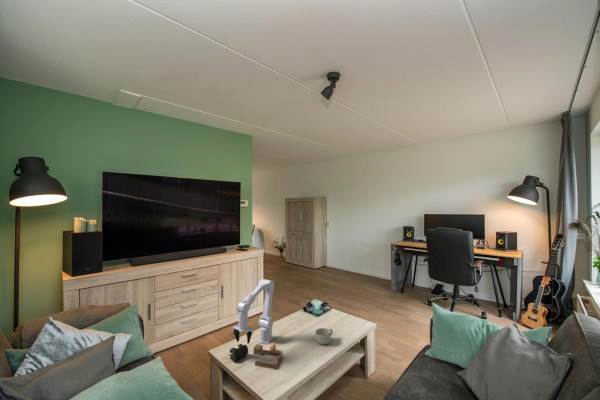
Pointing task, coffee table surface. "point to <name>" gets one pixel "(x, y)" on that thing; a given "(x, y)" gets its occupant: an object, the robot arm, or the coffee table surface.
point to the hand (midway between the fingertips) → (243, 341)
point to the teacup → (323, 335)
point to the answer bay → (270, 365)
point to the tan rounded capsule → (273, 347)
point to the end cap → (238, 352)
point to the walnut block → (258, 349)
